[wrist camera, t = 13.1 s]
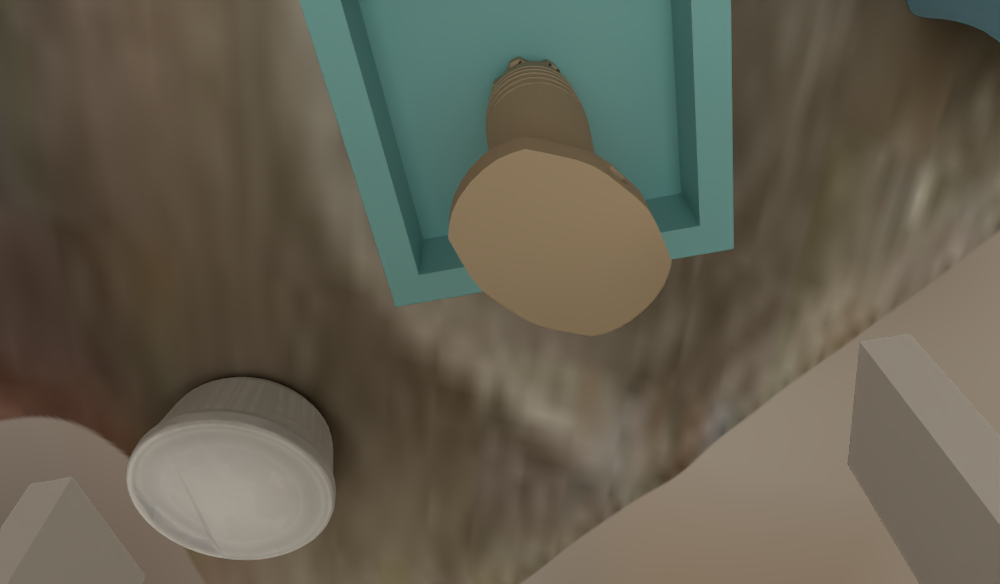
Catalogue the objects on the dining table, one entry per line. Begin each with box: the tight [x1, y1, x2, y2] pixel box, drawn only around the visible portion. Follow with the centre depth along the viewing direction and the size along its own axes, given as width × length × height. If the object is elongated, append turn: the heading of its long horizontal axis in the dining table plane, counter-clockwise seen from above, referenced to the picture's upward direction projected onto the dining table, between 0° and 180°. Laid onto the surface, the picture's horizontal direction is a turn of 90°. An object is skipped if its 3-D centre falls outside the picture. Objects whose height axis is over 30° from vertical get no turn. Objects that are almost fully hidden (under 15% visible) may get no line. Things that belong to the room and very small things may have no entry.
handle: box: [448, 56, 672, 337], centre depth 26 cm, size 5×6×15 cm
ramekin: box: [126, 377, 336, 560], centre depth 42 cm, size 11×11×5 cm
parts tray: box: [300, 0, 734, 307], centre depth 32 cm, size 16×16×4 cm
